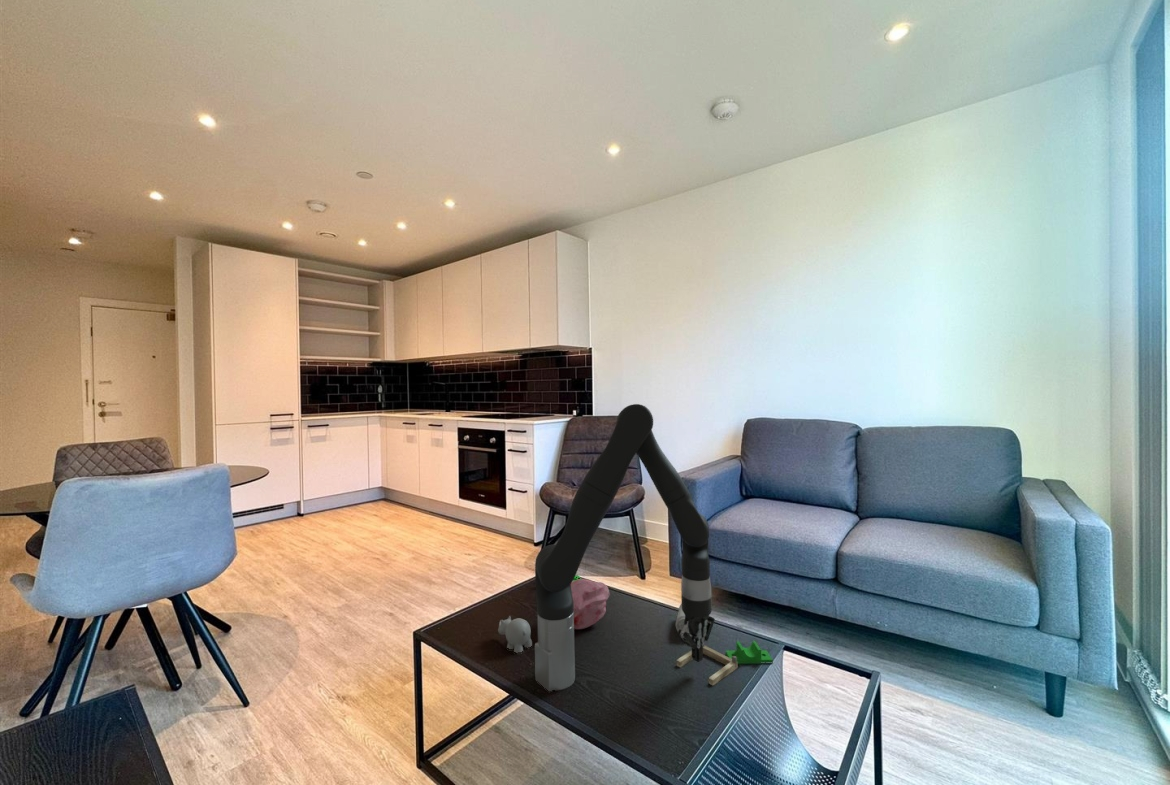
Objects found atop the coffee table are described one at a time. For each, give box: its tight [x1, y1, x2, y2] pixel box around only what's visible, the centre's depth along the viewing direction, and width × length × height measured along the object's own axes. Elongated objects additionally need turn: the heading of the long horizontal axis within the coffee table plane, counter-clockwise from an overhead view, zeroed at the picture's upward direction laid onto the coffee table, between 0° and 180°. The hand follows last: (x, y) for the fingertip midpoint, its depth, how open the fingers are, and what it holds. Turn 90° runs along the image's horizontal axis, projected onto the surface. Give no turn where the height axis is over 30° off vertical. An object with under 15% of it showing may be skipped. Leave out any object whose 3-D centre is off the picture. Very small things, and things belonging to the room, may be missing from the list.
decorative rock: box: [571, 578, 610, 630], centre depth 142 cm, size 19×14×15 cm
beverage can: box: [675, 602, 685, 632], centre depth 139 cm, size 6×6×12 cm
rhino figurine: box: [497, 615, 533, 653], centre depth 131 cm, size 7×12×8 cm, turn 48°
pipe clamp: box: [725, 640, 774, 664], centre depth 122 cm, size 11×4×5 cm
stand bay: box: [676, 644, 739, 686], centre depth 119 cm, size 11×11×3 cm
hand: (697, 659), depth 116 cm, fingers closed
